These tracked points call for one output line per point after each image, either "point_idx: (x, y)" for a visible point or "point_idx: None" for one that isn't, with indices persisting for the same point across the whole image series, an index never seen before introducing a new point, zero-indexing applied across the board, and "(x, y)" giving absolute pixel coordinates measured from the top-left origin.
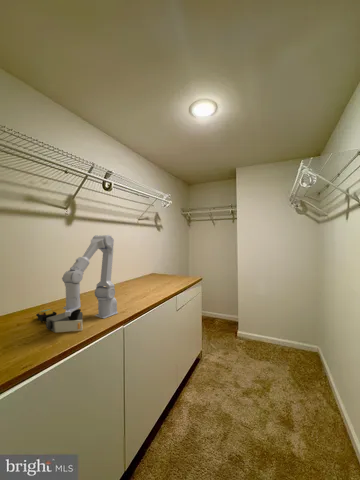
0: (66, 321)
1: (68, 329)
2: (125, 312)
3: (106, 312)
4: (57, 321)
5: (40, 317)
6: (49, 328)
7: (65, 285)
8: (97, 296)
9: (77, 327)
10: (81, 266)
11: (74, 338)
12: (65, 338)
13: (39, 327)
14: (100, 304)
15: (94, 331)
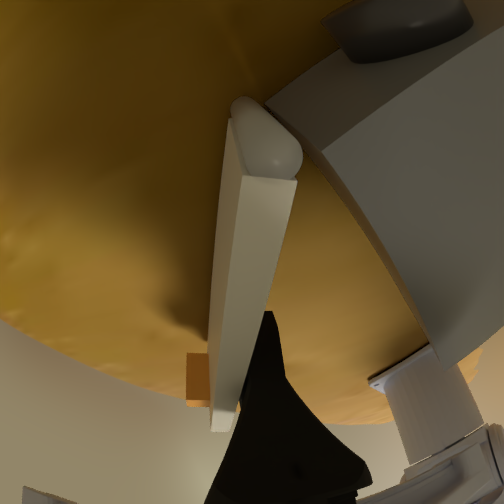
0: (217, 362)
1: (213, 284)
2: (382, 407)
3: (391, 404)
4: (345, 190)
5: None
6: (321, 20)
7: None
8: (482, 448)
9: (208, 355)
10: None
11: (85, 326)
12: (78, 273)
13: None
14: (430, 433)
15: None
